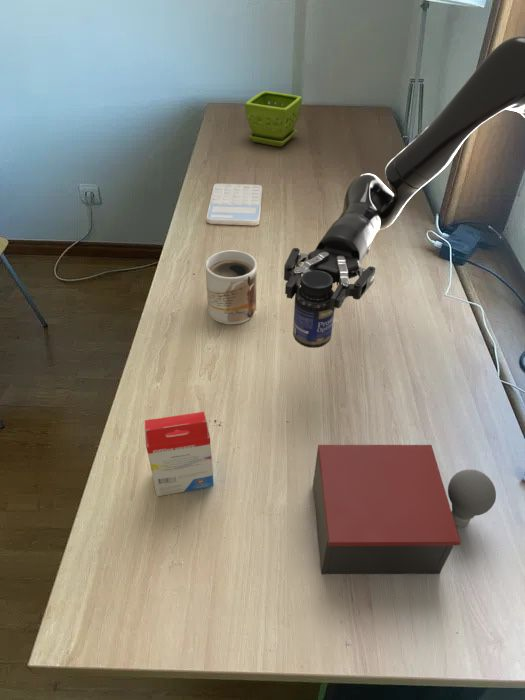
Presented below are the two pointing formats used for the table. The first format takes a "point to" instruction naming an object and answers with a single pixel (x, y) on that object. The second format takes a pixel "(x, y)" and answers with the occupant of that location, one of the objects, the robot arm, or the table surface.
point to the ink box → (179, 453)
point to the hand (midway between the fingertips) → (310, 299)
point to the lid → (384, 496)
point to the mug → (231, 286)
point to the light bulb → (470, 495)
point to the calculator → (235, 204)
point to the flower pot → (272, 117)
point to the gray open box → (372, 550)
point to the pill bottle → (313, 310)
